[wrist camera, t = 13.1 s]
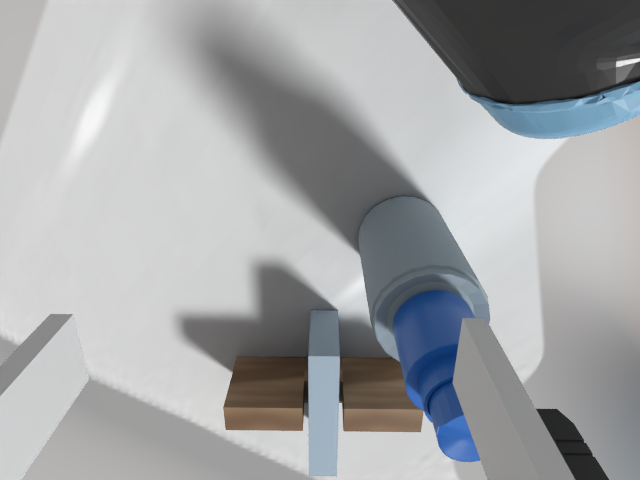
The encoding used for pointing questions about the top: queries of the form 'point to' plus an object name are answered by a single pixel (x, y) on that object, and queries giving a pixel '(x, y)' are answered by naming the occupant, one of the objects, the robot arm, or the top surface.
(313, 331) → the slotted plate
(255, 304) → the top surface
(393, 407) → the slotted stand
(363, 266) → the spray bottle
